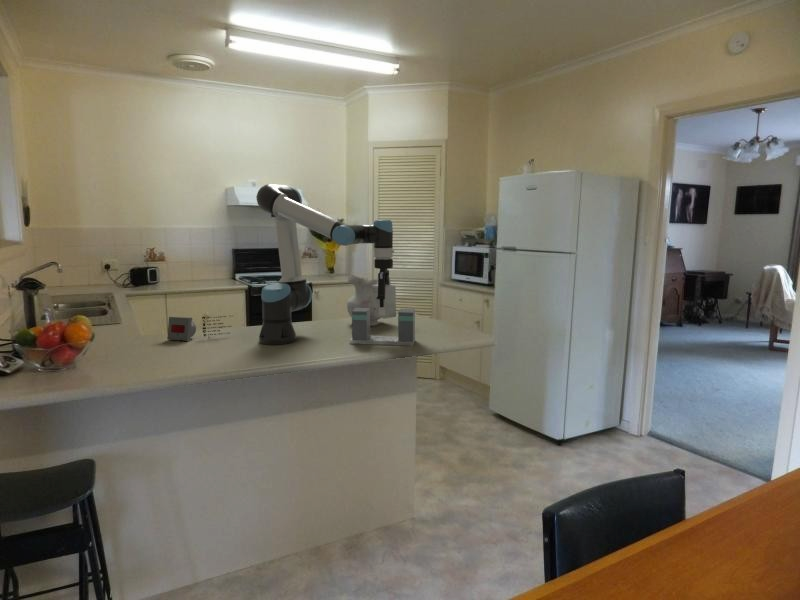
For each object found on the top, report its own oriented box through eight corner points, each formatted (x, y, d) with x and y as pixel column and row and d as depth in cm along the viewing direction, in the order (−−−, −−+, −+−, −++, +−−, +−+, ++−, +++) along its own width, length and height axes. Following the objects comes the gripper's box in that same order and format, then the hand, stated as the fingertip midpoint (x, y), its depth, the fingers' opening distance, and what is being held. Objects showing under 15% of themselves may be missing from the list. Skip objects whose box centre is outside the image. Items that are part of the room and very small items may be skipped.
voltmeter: (166, 344, 209) (165, 320, 208) (167, 337, 220) (166, 315, 218) (234, 338, 219) (233, 315, 218) (232, 332, 230) (231, 311, 228)
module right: (398, 341, 207) (398, 312, 205) (400, 336, 215) (400, 308, 213) (413, 341, 207) (413, 312, 205) (414, 337, 215) (415, 309, 213)
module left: (352, 340, 209) (351, 311, 208) (356, 335, 218) (355, 307, 216) (366, 340, 209) (366, 311, 207) (370, 335, 217) (370, 308, 215)
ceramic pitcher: (376, 319, 263) (373, 271, 260) (400, 323, 248) (397, 271, 245) (340, 325, 249) (337, 274, 247) (363, 329, 234) (360, 275, 232)
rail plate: (349, 343, 210) (349, 340, 209) (354, 338, 218) (354, 335, 218) (412, 345, 207) (412, 342, 206) (414, 340, 215) (414, 336, 215)
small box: (396, 317, 210) (396, 285, 207) (384, 319, 206) (383, 286, 204) (384, 314, 216) (383, 283, 214) (372, 316, 212) (371, 284, 210)
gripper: (388, 260, 195) (389, 318, 199) (396, 256, 217) (396, 307, 221) (369, 260, 196) (370, 317, 200) (378, 256, 218) (379, 307, 222)
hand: (384, 312), depth 210 cm, fingers closed on small box, 10 cm apart
